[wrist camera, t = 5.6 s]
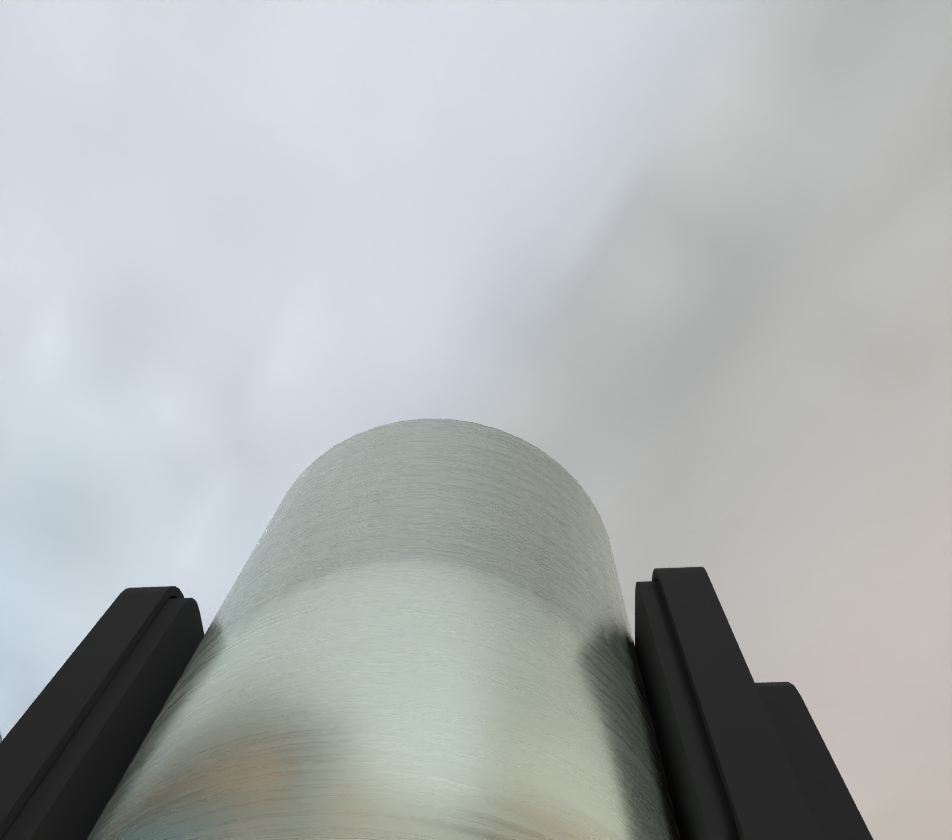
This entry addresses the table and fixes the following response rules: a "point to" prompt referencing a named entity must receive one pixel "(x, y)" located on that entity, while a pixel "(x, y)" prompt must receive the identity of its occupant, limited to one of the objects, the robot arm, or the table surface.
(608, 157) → the table surface
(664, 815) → the pale green bottle
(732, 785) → the robot arm
